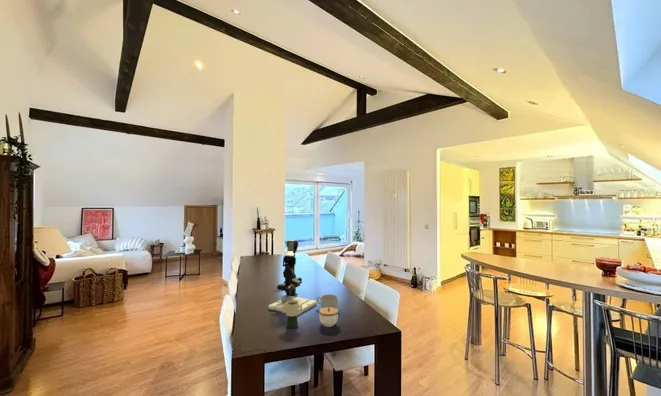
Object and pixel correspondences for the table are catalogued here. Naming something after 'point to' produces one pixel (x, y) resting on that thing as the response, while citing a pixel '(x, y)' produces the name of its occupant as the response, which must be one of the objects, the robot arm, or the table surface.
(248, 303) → the table surface
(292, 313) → the character mug
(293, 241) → the robot arm
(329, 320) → the lidded jar
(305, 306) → the console
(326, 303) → the teacup
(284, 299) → the block
